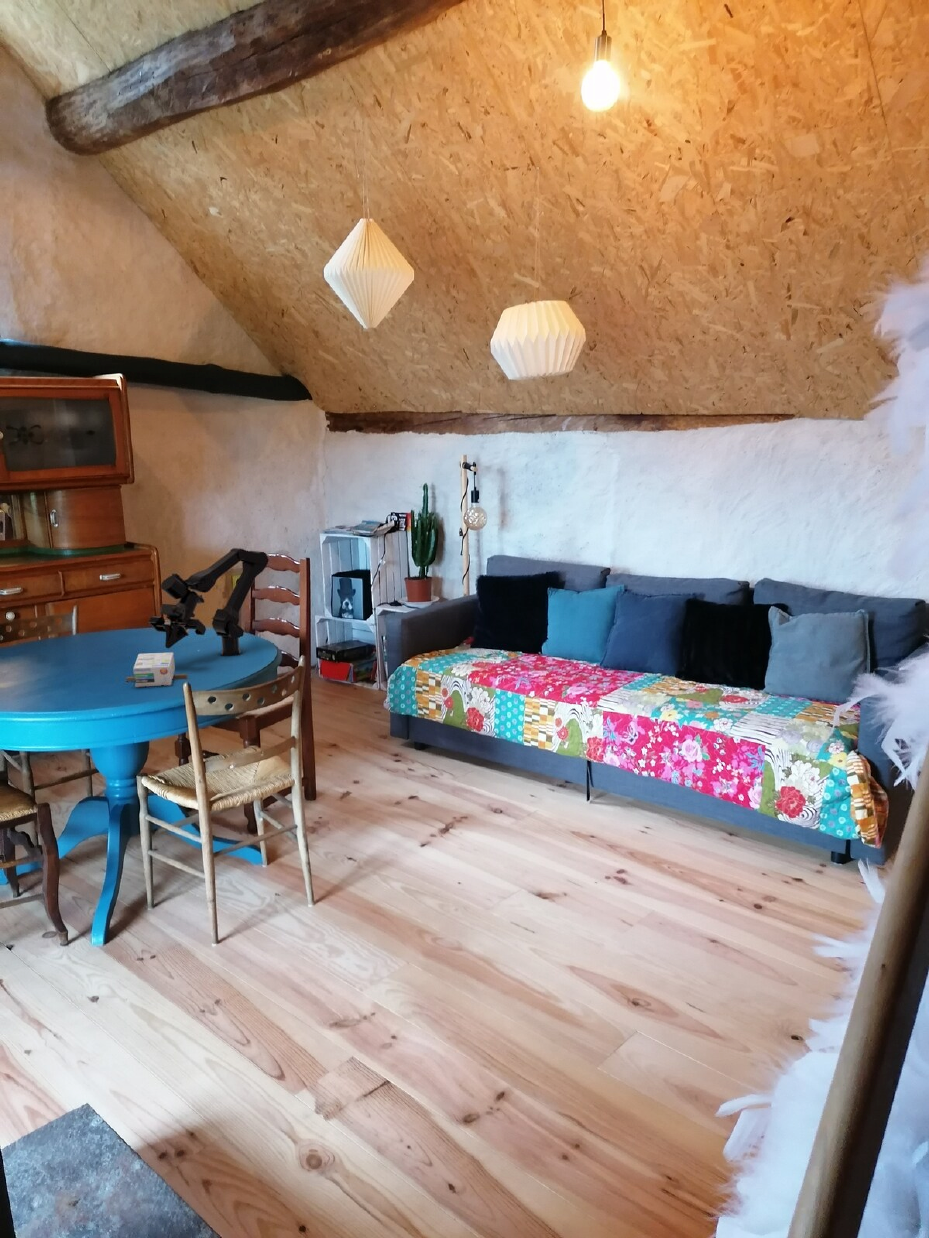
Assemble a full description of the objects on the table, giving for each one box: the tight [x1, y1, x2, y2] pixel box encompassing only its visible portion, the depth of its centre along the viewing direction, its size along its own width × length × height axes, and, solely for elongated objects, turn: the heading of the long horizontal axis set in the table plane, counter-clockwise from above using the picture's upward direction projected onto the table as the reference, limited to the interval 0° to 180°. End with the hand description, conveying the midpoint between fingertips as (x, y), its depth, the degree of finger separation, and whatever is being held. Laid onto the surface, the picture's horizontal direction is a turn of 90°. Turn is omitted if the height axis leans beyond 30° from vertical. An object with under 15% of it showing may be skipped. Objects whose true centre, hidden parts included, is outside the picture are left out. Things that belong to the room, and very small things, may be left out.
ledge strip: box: [125, 673, 189, 682], centre depth 259 cm, size 2×18×1 cm, turn 101°
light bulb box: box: [132, 652, 176, 688], centre depth 255 cm, size 11×7×11 cm
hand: (167, 647), depth 266 cm, fingers closed
